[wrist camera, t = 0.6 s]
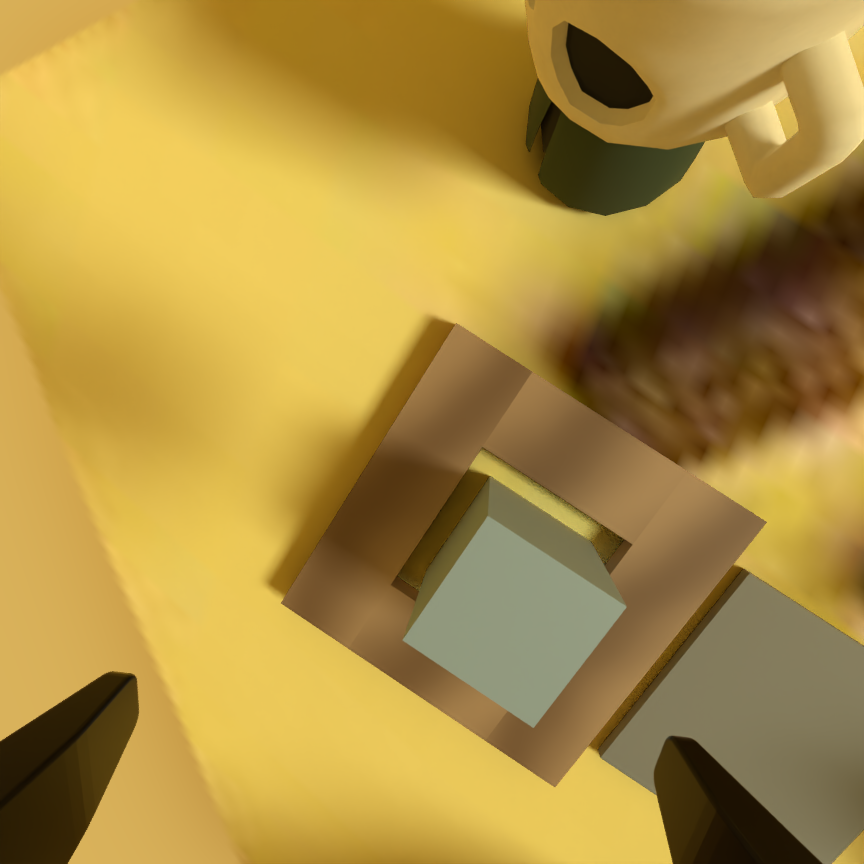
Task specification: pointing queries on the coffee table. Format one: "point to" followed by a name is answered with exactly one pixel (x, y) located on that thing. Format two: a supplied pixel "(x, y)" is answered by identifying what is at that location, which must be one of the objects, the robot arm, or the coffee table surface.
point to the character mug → (689, 93)
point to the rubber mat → (763, 712)
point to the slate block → (513, 603)
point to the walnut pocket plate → (561, 474)
